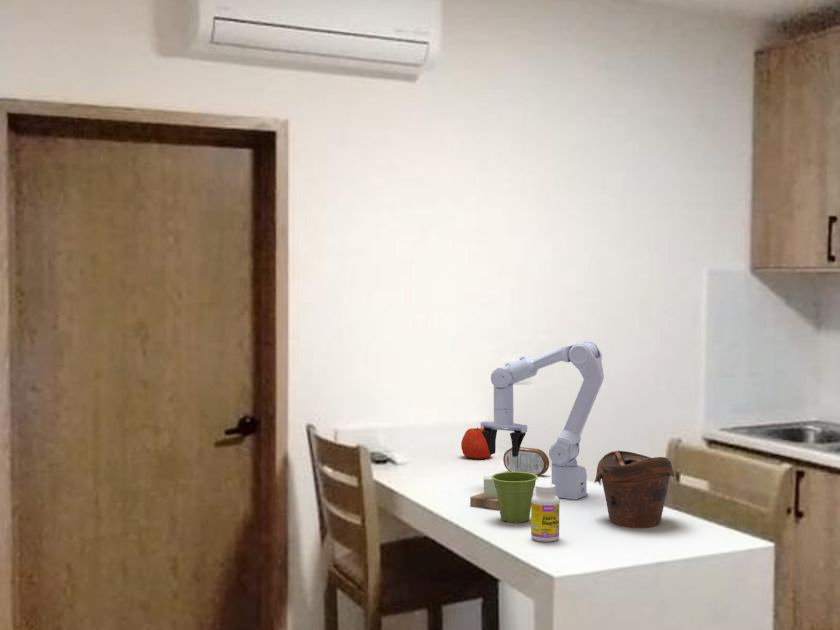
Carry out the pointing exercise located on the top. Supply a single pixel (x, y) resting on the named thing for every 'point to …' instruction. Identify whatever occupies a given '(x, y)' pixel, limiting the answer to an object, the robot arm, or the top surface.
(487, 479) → the sage block
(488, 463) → the top surface
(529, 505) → the plant pot
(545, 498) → the supplement bottle
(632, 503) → the rusty brown bucket
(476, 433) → the apple
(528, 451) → the tin
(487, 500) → the brown square block
